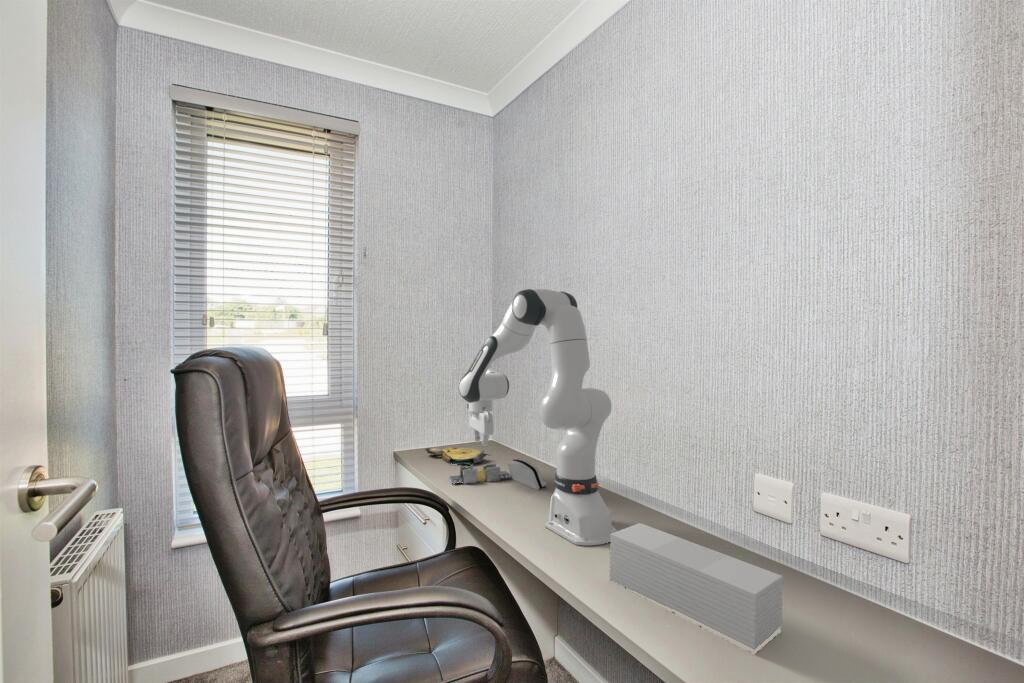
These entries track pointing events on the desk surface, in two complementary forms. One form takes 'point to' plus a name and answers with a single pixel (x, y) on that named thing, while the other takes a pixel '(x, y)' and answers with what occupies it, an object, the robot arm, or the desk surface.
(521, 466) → the grey half-round block
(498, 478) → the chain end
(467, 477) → the chain end
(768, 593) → the stack of papers
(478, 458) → the pulley block
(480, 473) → the brass block with peg
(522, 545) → the desk surface
